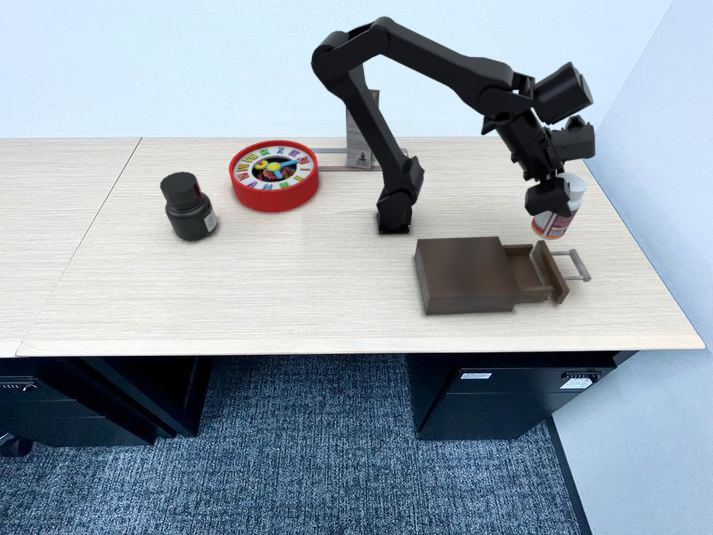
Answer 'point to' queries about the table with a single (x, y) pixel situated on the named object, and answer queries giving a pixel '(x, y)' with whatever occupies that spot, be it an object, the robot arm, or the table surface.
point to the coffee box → (358, 141)
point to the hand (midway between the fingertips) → (568, 204)
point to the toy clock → (274, 175)
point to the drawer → (542, 271)
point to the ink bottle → (188, 207)
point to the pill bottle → (554, 224)
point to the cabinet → (465, 276)
